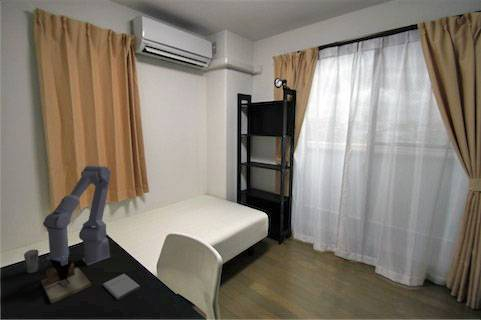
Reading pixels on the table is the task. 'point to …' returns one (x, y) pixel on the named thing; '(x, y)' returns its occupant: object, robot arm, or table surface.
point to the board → (66, 286)
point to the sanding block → (53, 275)
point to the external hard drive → (121, 286)
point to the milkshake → (31, 260)
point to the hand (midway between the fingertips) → (60, 275)
